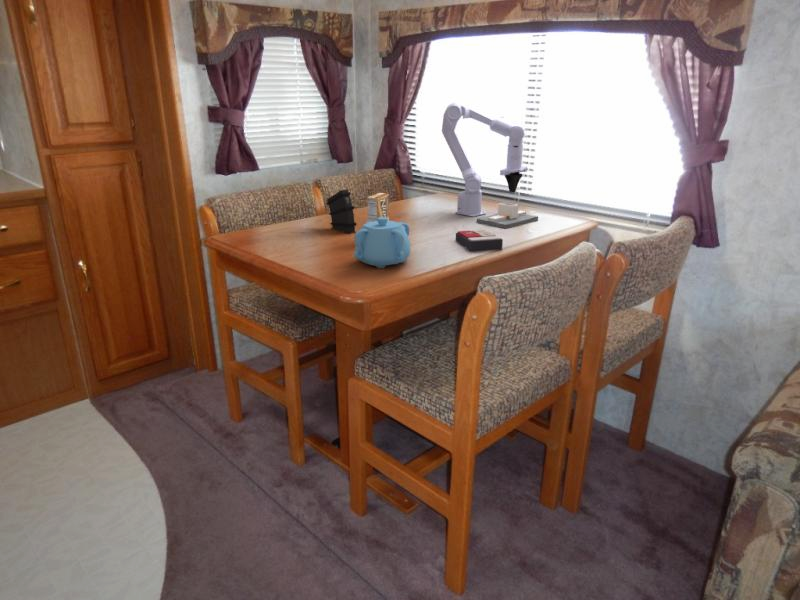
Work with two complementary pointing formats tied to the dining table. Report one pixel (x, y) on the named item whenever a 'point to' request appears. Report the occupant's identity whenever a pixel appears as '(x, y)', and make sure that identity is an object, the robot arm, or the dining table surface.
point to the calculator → (479, 240)
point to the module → (508, 210)
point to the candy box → (378, 206)
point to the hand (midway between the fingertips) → (512, 191)
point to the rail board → (507, 220)
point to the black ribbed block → (342, 212)
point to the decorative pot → (382, 243)
